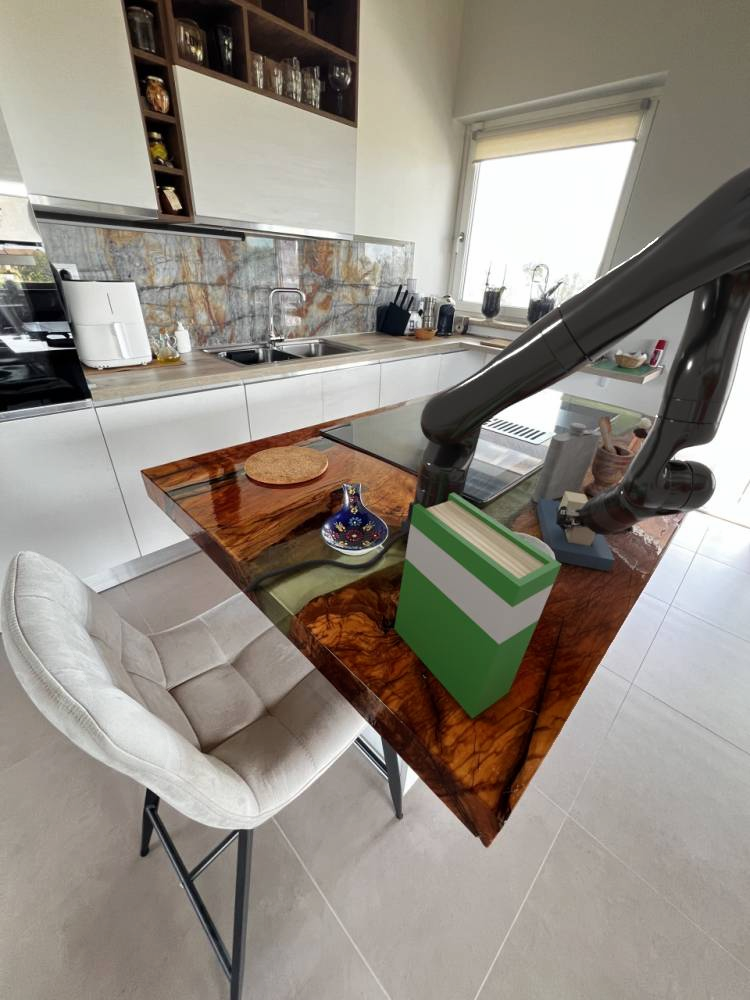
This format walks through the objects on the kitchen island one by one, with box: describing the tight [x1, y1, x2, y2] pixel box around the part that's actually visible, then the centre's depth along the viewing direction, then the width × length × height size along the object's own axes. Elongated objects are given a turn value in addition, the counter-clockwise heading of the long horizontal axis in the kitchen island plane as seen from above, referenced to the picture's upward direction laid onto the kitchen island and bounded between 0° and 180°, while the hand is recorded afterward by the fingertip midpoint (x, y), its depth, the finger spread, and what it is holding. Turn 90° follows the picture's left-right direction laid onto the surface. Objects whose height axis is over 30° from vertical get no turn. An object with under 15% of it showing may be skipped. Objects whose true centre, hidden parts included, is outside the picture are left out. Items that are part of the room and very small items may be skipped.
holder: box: [536, 498, 616, 572], centre depth 94 cm, size 12×21×3 cm, turn 168°
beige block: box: [564, 518, 596, 546], centre depth 89 cm, size 4×4×8 cm
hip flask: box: [532, 422, 602, 504], centre depth 106 cm, size 16×4×20 cm, turn 118°
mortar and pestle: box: [584, 415, 634, 498], centre depth 110 cm, size 12×9×20 cm
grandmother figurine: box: [627, 417, 652, 456], centre depth 137 cm, size 8×4×13 cm, turn 17°
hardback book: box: [393, 493, 563, 719], centre depth 57 cm, size 18×7×24 cm, turn 34°
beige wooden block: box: [558, 491, 589, 511], centre depth 96 cm, size 4×4×8 cm
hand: (577, 527), depth 90 cm, fingers open, 5 cm apart
